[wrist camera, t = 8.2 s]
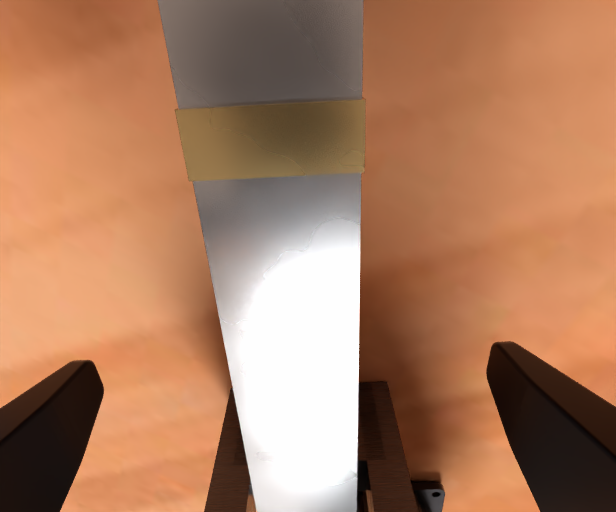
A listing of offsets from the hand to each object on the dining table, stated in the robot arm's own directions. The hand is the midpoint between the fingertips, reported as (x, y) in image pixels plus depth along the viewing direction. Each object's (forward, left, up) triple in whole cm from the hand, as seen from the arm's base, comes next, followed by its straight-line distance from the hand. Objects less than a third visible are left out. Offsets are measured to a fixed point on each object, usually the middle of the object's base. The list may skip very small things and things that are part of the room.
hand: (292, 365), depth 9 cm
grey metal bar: (0, 0, -3) cm, 3 cm away
